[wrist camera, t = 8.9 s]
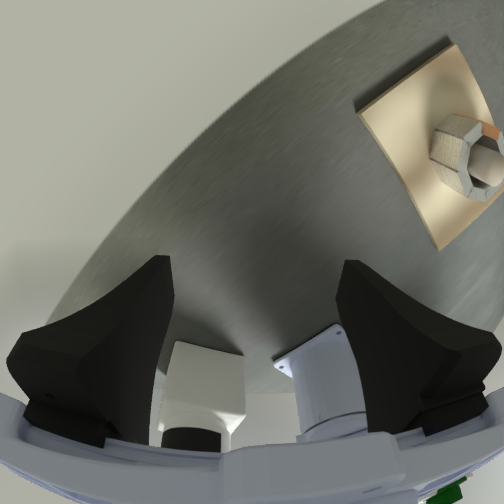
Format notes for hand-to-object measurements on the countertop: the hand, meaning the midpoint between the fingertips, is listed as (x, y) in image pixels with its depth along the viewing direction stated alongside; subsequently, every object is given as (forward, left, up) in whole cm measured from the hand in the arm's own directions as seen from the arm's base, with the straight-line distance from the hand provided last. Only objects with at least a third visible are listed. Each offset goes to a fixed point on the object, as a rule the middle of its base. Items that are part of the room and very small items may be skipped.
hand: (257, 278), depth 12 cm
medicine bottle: (-10, +16, -10) cm, 21 cm away
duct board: (-7, -15, -9) cm, 19 cm away
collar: (-7, -15, -9) cm, 19 cm away
